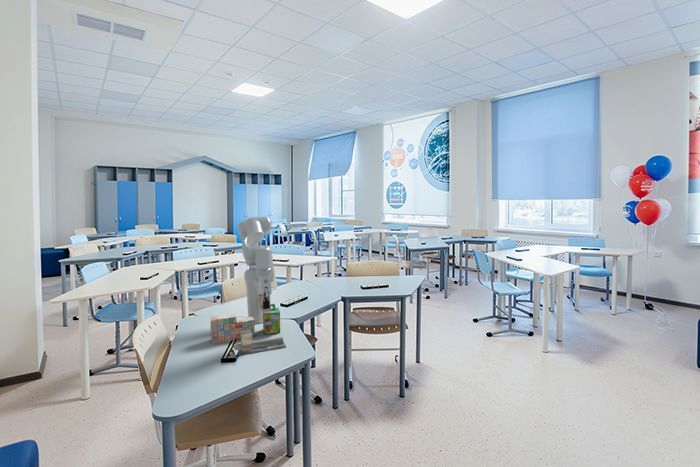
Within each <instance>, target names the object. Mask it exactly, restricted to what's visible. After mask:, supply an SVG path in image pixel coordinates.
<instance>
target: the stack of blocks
mask: <svg viewBox="0 0 700 467" xmlns="http://www.w3.org/2000/svg"><path fill="white" fill-rule="evenodd" d="M235 314H236V313H229V314H223V315H218V316H217V315H216V316H210V332H211V342H212V344H219V343H224V342H231V341H233V340H232V339H237V340H241V339H240V338H241V333H240V332H241V331H247V330H250V331H251V332H252V338H255V336H256V332H255V330H256V329H255V324H254V319H253V317H248V316H247V317H241V318H237V316H236V315H235Z"/></svg>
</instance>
